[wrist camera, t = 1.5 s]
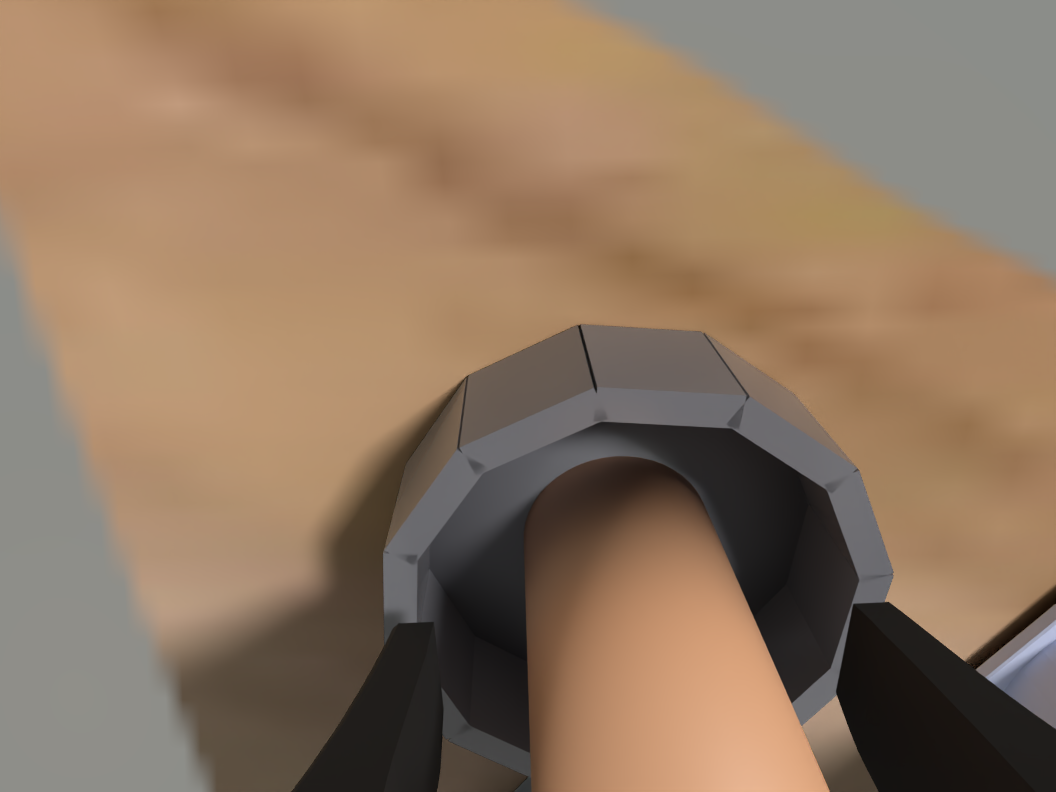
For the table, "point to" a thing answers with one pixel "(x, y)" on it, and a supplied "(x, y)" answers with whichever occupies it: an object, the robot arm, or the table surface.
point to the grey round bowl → (638, 431)
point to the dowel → (647, 646)
